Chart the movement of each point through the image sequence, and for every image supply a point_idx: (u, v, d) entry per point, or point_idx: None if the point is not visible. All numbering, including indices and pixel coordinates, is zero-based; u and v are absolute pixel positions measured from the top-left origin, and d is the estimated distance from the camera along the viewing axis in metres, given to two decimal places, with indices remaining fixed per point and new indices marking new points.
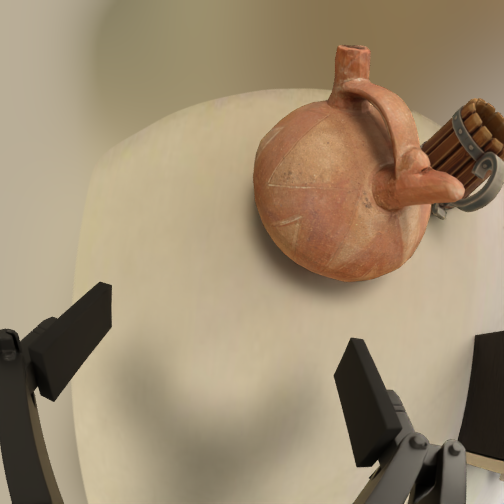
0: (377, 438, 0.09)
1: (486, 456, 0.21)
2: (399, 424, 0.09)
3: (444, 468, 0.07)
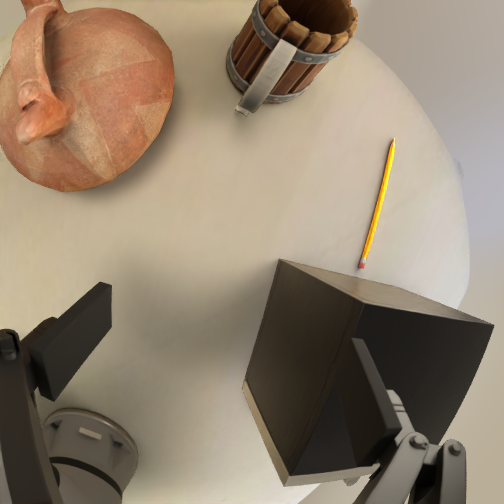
0: (377, 438, 0.09)
1: None
2: (399, 424, 0.09)
3: (444, 468, 0.07)
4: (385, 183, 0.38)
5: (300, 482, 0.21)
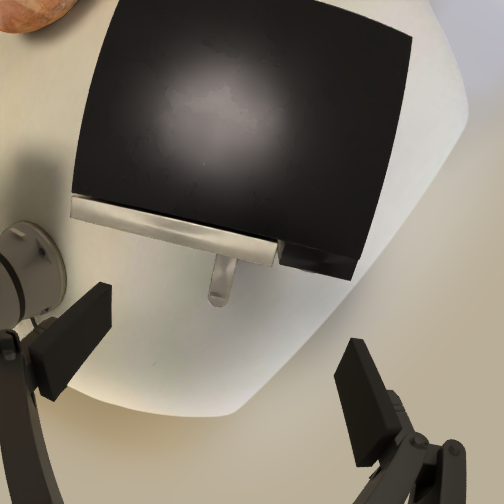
0: (377, 438, 0.09)
1: None
2: (399, 424, 0.09)
3: (444, 468, 0.07)
4: None
5: (87, 215, 0.19)
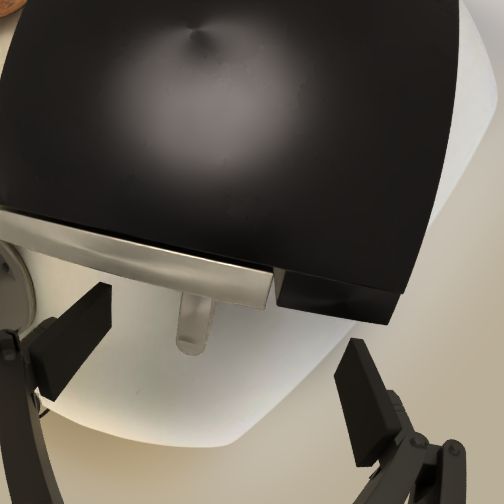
0: (377, 438, 0.09)
1: None
2: (399, 424, 0.09)
3: (444, 468, 0.07)
4: None
5: (3, 232, 0.11)
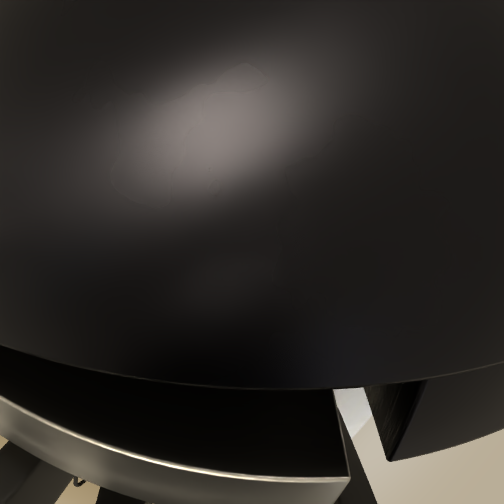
0: None
1: None
2: None
3: None
4: None
5: None
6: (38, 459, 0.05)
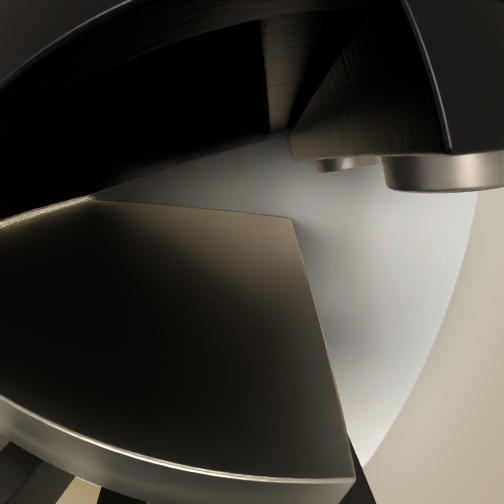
0: None
1: (41, 215, 0.14)
2: None
3: None
4: None
5: None
6: (39, 459, 0.05)
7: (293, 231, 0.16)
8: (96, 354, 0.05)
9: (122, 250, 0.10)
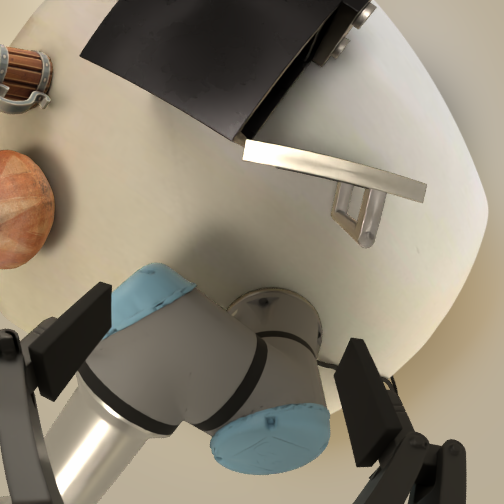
0: (377, 438, 0.09)
1: None
2: (399, 424, 0.09)
3: (444, 468, 0.07)
4: None
5: (264, 157, 0.21)
6: None
7: None
8: None
9: None
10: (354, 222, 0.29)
